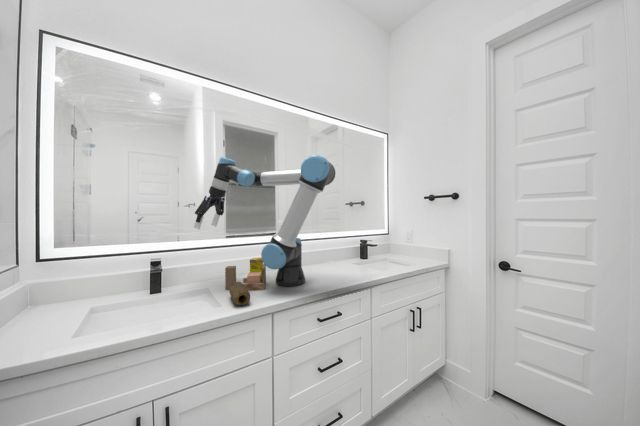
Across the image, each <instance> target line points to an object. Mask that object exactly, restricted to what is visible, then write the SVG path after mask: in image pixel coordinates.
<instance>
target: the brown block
mask: <svg viewBox="0 0 640 426" xmlns="http://www.w3.org/2000/svg"><path fill="white" fill-rule="evenodd" d="M236 267H237V265H227V266H225V269H224V271H225V272H224V274H225V275H224V276H225V278H224V280H225V281H224V283H225V290H229V288H230V286H231V284H232V283H234V282H237V268H236ZM246 278H247V283H243V282H242V283H243V284H250V283H262V282H261V272H252V273H250V272H248V274H247V276H246Z"/></svg>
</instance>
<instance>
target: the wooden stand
mask: <svg viewBox="0 0 640 426" xmlns="http://www.w3.org/2000/svg"><path fill="white" fill-rule="evenodd" d="M266 271H267V266H266V265H265V264H264V263H263V267H262V277H261V282H262V283H250V284H244V285H245V287H246V288H247V290H248V291H249V292H250V291H265V288H266V284H267V272H266ZM242 283H247V277H244V278H242Z"/></svg>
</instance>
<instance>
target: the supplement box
mask: <svg viewBox="0 0 640 426" xmlns="http://www.w3.org/2000/svg"><path fill="white" fill-rule="evenodd" d="M263 264H264V263H263V260H262V257H252V258H250V259H249V273H252V272H261V277H262V267H263Z"/></svg>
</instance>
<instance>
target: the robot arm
mask: <svg viewBox="0 0 640 426" xmlns="http://www.w3.org/2000/svg"><path fill="white" fill-rule="evenodd" d="M236 164H237V162H236V161H235V160H233V159H230V158H227V157H226V156H221V157H220V158H219V160H218V162H217V166H216V169H215V172H214V175H213V178H212V182H211V186H210V187H209V190H208V193H209V194H210V195H209V196H208V195H205V196H204V198H203V200H202V201H201V203H200V204H199V206H198V207H197V209H196V210H195V211H194V214H195V215H197V216H196V219H195V223H194V225H193V228H194V229H197V230H200V229H201V226H202V224H203V220H204V218H205V217H204V215H206V213H207V212H208V211H209V210H210V209H211V208H212V207H214V208H215V213H214V215H213V218H212V220H211V223H210V225H211V226H212V227H213V226H214V227H215V228H216V227H217V226H218V222H219V220H220V217H221V216H223V215H224V213H225V200H226V197H225V196H226V193H227V189H228V188H229V187H228V186H229V184H230V181H232V182H235V183H237V184H239V185H241V186H244V187H254V188H263V187H271V186H272V187H273V186H292V185H293V186H294V185H299V187H298V189H297V191H296V193H295V195H294V198H293V200H292V202H291V204H290V206H289V207H288V210H287V213H286V215H285V217H284V220H283V222H282V224H281V225H280V228H279V230H278V232H277V233H274V234H273V235H272V237H271V239H270V241H269V243H267V244H266V245H265V246H264V247H263V248H262V250H261V253H260V254H261V255H260V258H262V260H263V264H265V265H266V268H267V269H268V268H269V269H271V270H277V273H276V277H275V284H276V285H277V286H280V287H295V286H296V287H297V286H301V285H304V284H305V283H306V277H305V276H306V275H305V273H304V270H303V268H302V267H303V266H302V259H303V257H302V245H303V244H302V239H301V237H298V235H299V234H300V231H301V229H302V227H303V226H304V223H305V221H306V219H307V216H308V215H309V213H310V210H311V209H312V207H313V204H314V203H315V200H316V198H317V196H318V194H320V193H322V192H324V189H325V187H326V186H328V185H330V184H332V183H333V182H334V180H335V178H336V169H335V166H334V165H333V164H332V163H331V162H330V161H329V160H328V159H327V158H326V157H324V156H321V155H319V154H312V155H310V156H307V157H306V158H305V159H303V161H302V163H301V165H300V168H298V169H285V170H283V169H282V170H272V171H261V172H260V171H259V172H255V171H251V170H249V169H245V168H242V167H240V166H237V165H236Z"/></svg>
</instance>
